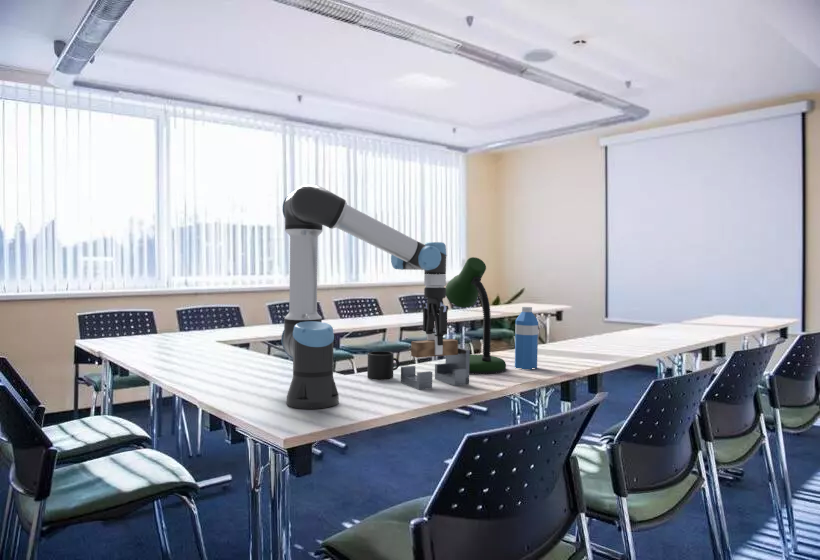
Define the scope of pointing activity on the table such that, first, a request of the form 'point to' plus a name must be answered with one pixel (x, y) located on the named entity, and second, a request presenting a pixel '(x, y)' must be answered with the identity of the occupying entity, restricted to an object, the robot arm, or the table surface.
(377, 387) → the table surface
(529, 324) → the water bottle
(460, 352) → the cup bracket
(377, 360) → the mug
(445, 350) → the brown wooden bar
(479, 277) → the desk lamp
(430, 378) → the saddle bracket
